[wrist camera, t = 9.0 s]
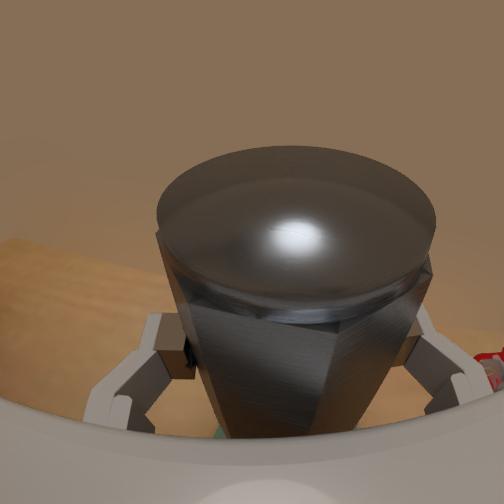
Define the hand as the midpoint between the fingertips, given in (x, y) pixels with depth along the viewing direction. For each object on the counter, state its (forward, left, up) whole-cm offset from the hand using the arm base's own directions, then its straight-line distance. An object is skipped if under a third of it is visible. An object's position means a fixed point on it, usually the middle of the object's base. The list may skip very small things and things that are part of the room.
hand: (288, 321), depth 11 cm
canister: (0, -1, -7) cm, 7 cm away
